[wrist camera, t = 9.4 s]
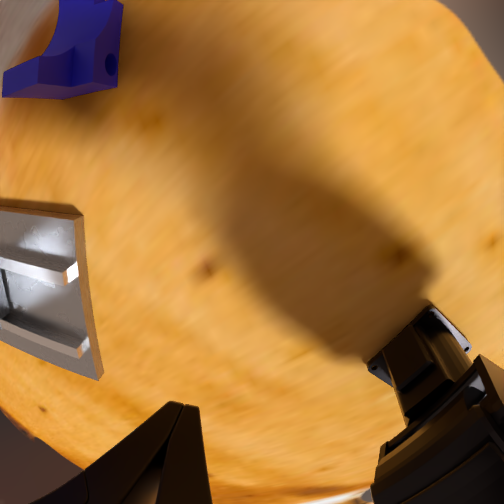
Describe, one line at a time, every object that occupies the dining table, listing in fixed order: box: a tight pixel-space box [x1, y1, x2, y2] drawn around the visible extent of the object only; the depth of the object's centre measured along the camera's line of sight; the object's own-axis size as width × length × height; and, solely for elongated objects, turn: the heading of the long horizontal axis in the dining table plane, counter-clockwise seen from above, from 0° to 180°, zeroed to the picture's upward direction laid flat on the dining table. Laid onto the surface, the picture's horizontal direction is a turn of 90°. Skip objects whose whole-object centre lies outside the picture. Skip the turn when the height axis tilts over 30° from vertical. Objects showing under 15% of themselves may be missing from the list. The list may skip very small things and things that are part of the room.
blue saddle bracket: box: [2, 0, 123, 100], centre depth 12 cm, size 12×4×6 cm, turn 0°
